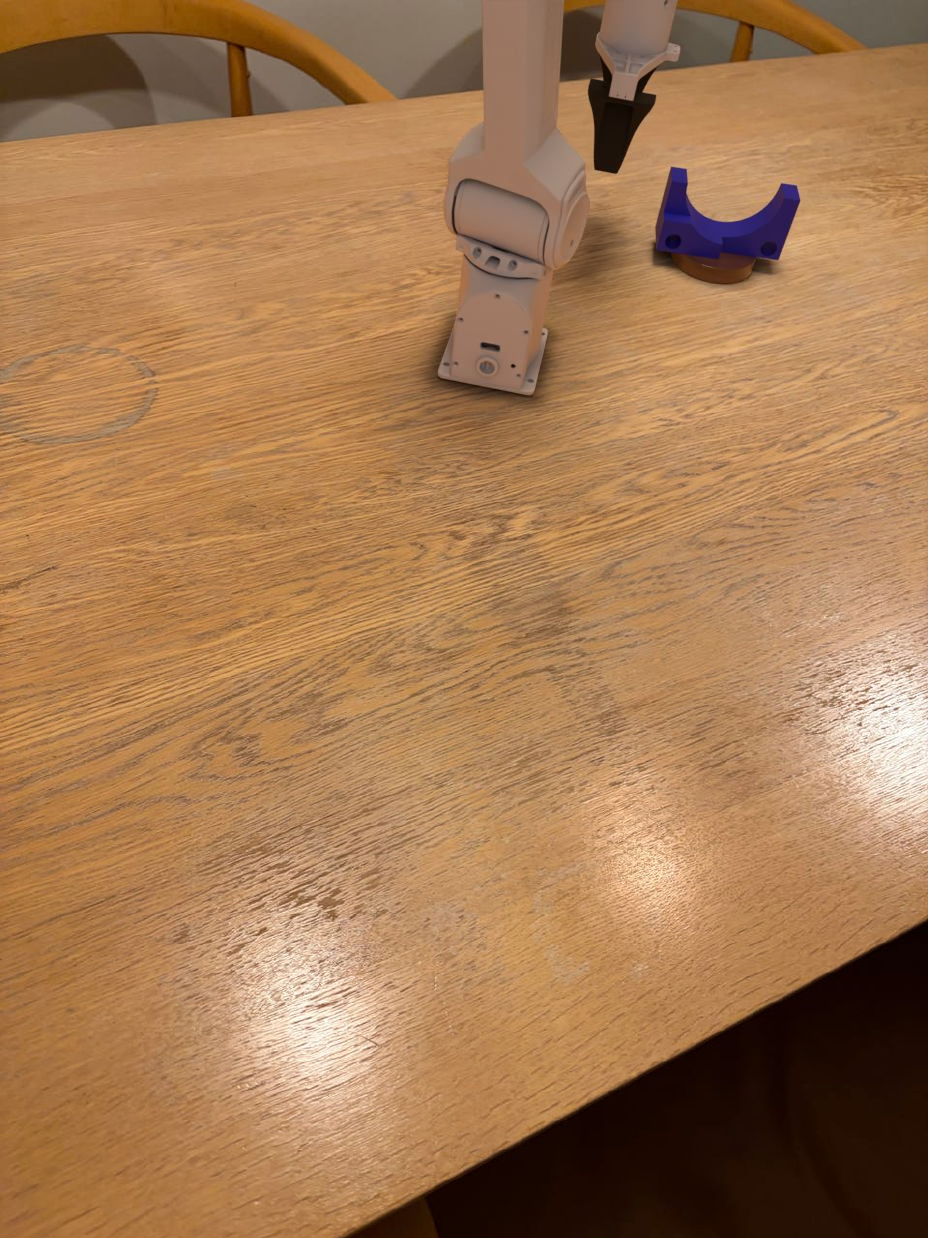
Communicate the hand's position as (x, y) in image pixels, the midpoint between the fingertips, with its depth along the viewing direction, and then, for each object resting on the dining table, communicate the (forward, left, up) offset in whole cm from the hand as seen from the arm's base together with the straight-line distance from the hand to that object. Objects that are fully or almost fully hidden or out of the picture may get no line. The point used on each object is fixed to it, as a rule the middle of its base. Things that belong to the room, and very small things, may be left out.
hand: (609, 151), depth 89 cm
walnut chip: (+2, -12, -9) cm, 15 cm away
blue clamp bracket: (+2, -12, -8) cm, 15 cm away
